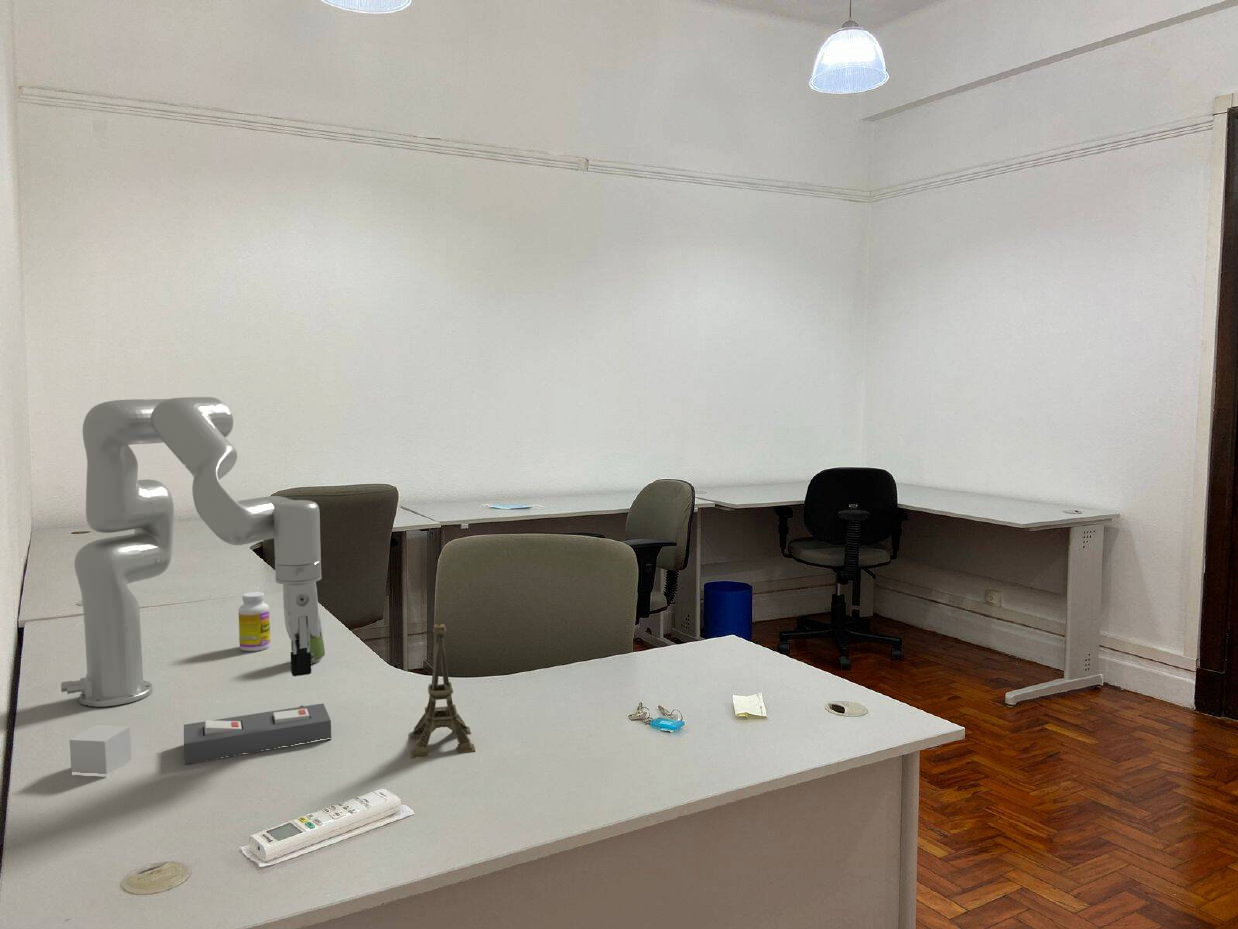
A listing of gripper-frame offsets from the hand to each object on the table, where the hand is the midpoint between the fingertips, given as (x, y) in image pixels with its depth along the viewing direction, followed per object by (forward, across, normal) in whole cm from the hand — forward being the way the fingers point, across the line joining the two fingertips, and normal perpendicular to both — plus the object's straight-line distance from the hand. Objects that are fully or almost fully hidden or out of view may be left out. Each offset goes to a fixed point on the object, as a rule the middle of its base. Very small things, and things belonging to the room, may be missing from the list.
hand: (301, 673), depth 155 cm
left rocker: (+8, 0, +13) cm, 15 cm away
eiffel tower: (+11, -14, -21) cm, 28 cm away
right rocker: (+8, 0, +2) cm, 8 cm away
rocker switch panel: (+11, +3, +7) cm, 14 cm away
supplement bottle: (+12, +58, +4) cm, 59 cm away
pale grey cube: (+12, 0, +31) cm, 33 cm away
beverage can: (+11, +42, -6) cm, 44 cm away
